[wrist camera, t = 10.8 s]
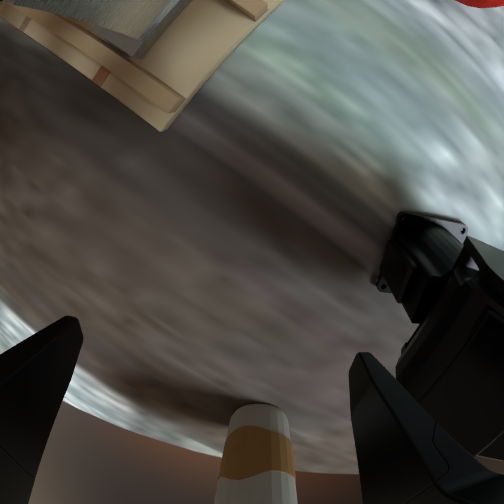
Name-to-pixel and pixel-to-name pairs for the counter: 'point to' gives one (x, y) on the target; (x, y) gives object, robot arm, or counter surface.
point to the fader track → (150, 52)
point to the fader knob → (118, 19)
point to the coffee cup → (257, 458)
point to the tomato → (482, 3)
